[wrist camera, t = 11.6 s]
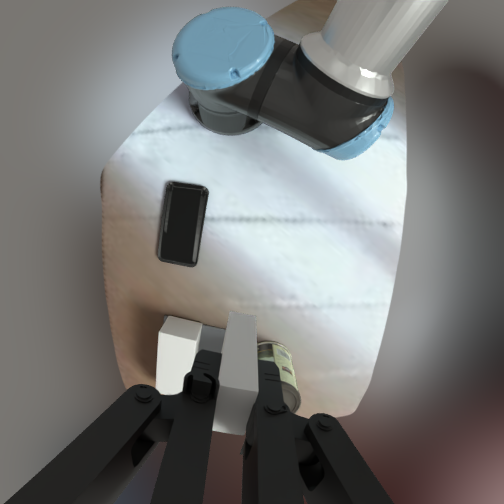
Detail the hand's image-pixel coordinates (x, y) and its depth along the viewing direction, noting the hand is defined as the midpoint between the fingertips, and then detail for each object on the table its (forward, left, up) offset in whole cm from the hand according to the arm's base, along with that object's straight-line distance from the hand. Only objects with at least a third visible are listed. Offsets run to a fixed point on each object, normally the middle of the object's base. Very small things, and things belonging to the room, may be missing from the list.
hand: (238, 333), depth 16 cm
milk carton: (+19, -9, -32) cm, 39 cm away
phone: (+1, -12, -37) cm, 39 cm away
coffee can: (+26, +10, -37) cm, 46 cm away
